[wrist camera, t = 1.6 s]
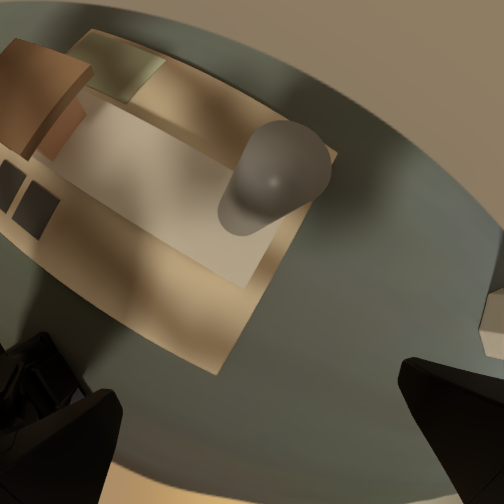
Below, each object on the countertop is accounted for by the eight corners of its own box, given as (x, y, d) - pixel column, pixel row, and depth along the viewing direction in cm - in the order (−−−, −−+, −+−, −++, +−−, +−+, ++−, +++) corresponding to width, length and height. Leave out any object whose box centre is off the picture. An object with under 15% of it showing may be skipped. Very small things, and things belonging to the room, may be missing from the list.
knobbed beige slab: (241, 288, 19) (298, 306, 9) (19, 148, 16) (-54, 85, 6) (285, 209, 20) (369, 158, 10) (65, 86, 17) (20, 2, 7)
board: (215, 370, 20) (216, 375, 19) (-29, 200, 16) (-36, 197, 15) (332, 157, 22) (338, 152, 21) (93, 34, 19) (91, 27, 18)
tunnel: (65, 188, 17) (19, 155, 11) (2, 144, 16) (-42, 109, 9) (113, 119, 18) (90, 64, 12) (45, 85, 17) (15, 37, 10)
